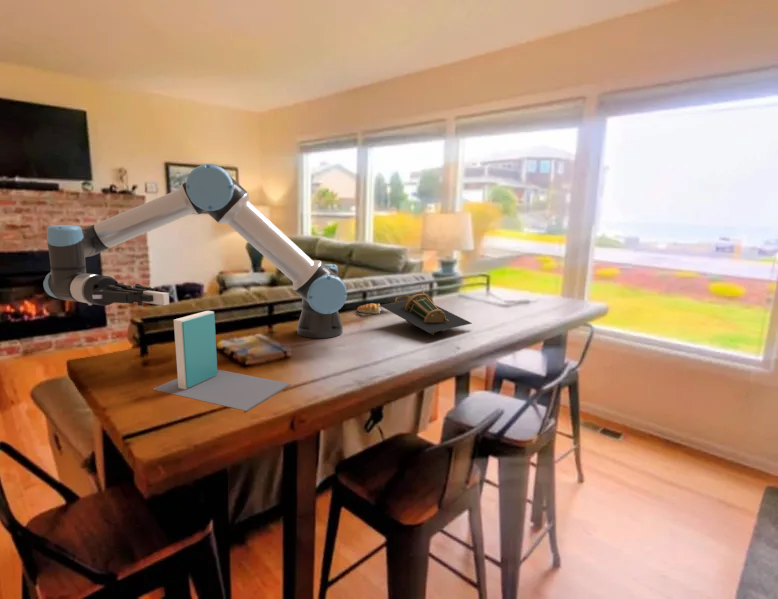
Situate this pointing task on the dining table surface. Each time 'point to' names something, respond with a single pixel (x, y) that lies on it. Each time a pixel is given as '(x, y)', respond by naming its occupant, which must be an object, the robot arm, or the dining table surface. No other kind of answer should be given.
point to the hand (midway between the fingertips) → (166, 299)
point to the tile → (195, 348)
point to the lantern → (424, 313)
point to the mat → (229, 390)
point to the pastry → (370, 308)
